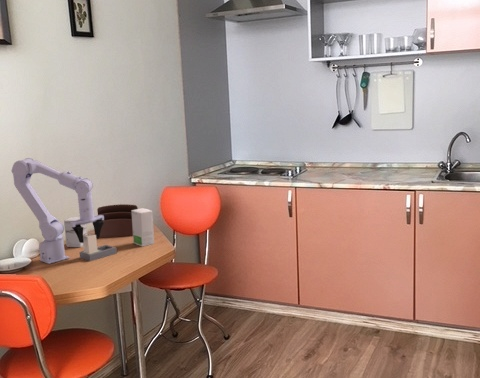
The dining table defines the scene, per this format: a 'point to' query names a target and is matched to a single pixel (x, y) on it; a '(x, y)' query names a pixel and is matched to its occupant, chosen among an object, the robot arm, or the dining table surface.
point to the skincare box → (142, 227)
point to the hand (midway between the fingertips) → (89, 240)
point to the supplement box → (73, 233)
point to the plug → (90, 243)
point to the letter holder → (116, 220)
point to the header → (99, 253)
